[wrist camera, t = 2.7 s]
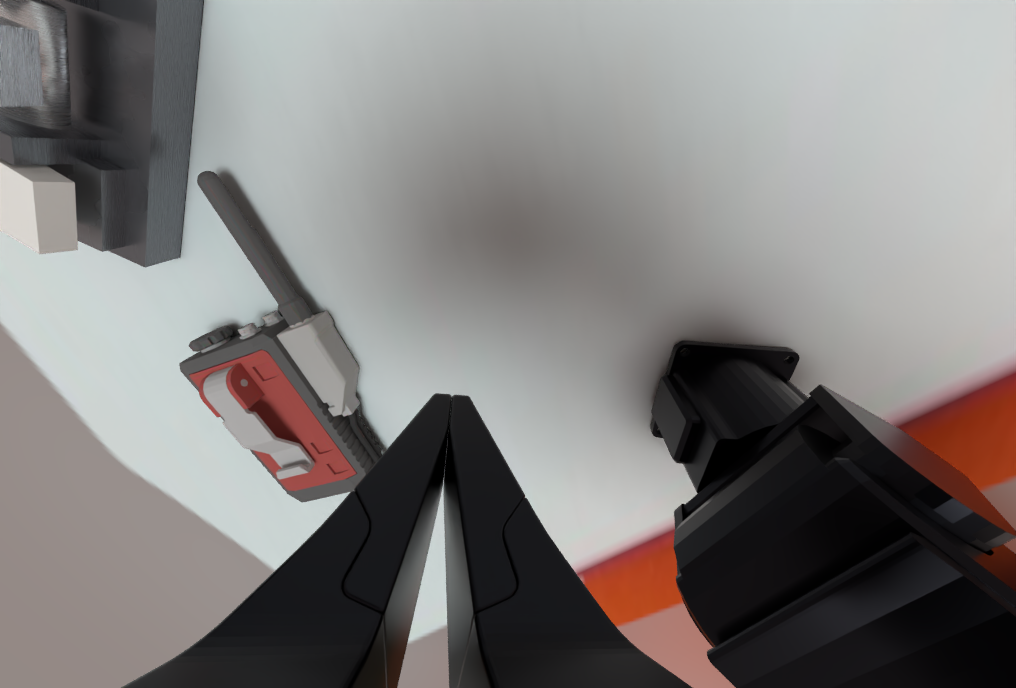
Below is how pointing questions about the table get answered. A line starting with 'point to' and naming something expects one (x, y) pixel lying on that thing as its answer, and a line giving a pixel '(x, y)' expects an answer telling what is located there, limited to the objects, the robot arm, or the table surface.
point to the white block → (38, 207)
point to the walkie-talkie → (283, 380)
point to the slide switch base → (123, 124)
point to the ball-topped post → (35, 63)
